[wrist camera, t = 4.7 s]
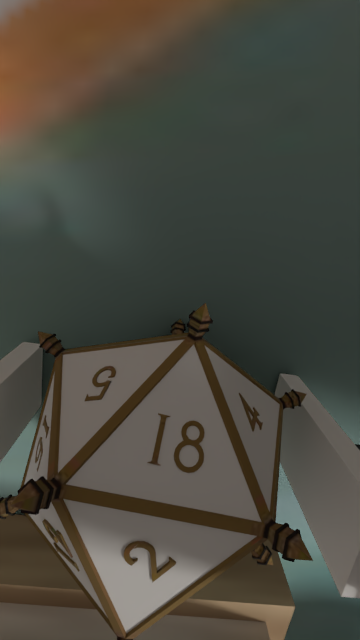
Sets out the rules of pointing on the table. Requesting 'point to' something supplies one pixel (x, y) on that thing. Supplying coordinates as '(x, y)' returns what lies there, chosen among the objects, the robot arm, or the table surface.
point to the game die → (154, 471)
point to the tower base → (211, 600)
